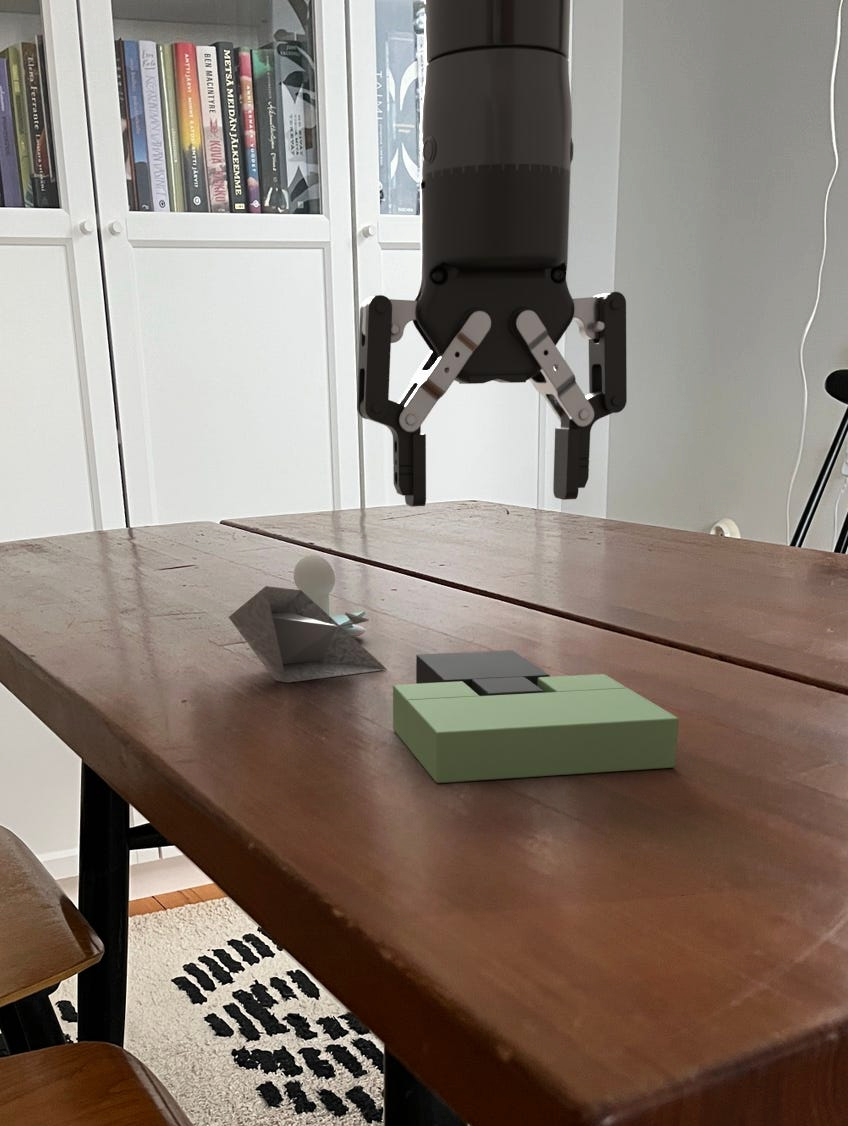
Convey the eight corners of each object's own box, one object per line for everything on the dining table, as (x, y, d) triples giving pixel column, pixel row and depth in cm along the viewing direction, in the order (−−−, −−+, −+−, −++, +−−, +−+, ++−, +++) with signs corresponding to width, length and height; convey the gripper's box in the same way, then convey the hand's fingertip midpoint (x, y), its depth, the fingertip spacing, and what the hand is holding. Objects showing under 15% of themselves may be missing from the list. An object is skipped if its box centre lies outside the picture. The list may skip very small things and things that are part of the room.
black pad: (511, 690, 77) (513, 649, 76) (569, 735, 67) (571, 689, 66) (415, 695, 76) (416, 654, 75) (460, 741, 66) (461, 695, 65)
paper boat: (322, 636, 87) (430, 612, 82) (309, 722, 86) (419, 704, 80) (199, 558, 78) (311, 525, 73) (183, 653, 77) (296, 627, 71)
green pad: (602, 717, 71) (604, 673, 70) (675, 768, 61) (679, 718, 61) (392, 729, 69) (392, 684, 68) (436, 783, 59) (436, 732, 59)
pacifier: (285, 631, 96) (259, 644, 91) (283, 547, 94) (256, 555, 89) (378, 635, 94) (357, 648, 89) (378, 549, 92) (356, 557, 87)
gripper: (602, 180, 68) (590, 491, 74) (342, 179, 66) (350, 501, 71) (658, 157, 61) (639, 503, 67) (370, 155, 59) (376, 514, 64)
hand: (490, 501), depth 69 cm, fingers open, 8 cm apart
